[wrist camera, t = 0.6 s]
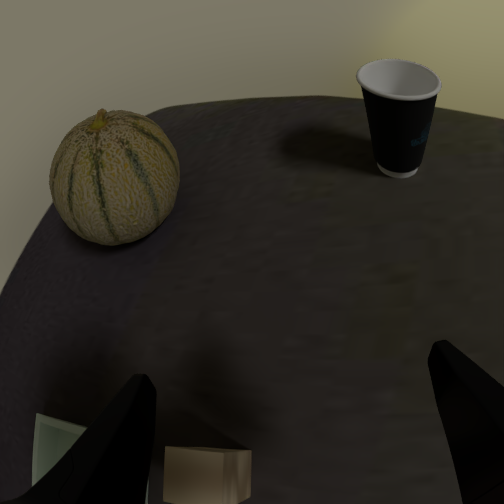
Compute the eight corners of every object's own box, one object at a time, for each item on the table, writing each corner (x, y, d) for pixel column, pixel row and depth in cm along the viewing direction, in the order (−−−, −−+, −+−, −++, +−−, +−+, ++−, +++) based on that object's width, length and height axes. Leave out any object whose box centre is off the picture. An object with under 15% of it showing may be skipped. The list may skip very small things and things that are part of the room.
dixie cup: (364, 138, 35) (356, 57, 27) (427, 143, 32) (433, 61, 24) (361, 186, 32) (354, 95, 23) (434, 192, 29) (449, 102, 20)
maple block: (250, 496, 19) (221, 511, 14) (201, 491, 20) (163, 501, 15) (251, 450, 21) (223, 452, 16) (203, 447, 22) (165, 446, 17)
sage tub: (149, 579, 15) (126, 589, 12) (57, 537, 18) (34, 539, 15) (150, 440, 23) (126, 437, 21) (60, 419, 26) (36, 413, 23)
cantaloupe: (87, 227, 41) (19, 153, 29) (166, 160, 44) (115, 75, 32) (122, 295, 33) (23, 210, 21) (224, 207, 35) (164, 92, 23)
